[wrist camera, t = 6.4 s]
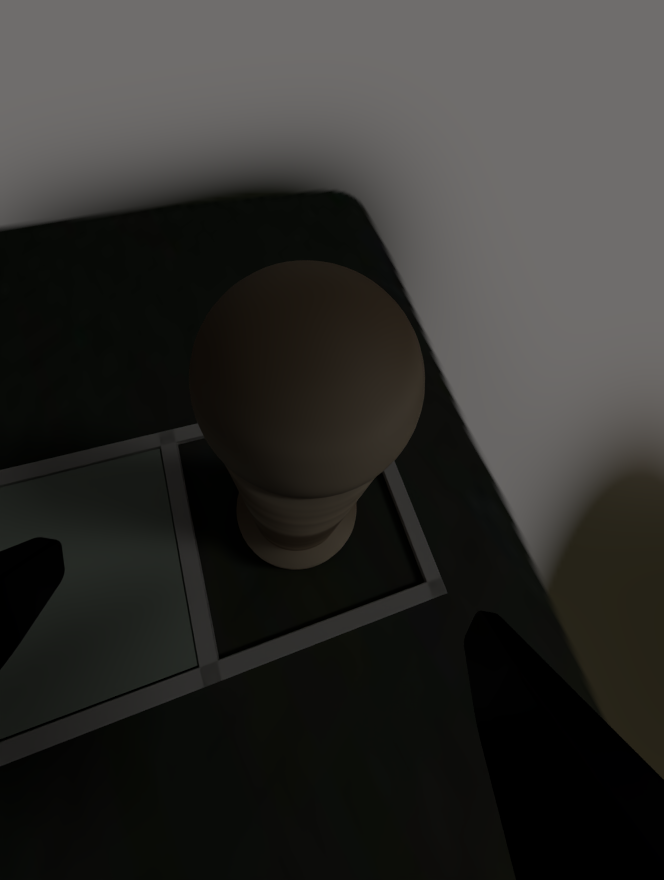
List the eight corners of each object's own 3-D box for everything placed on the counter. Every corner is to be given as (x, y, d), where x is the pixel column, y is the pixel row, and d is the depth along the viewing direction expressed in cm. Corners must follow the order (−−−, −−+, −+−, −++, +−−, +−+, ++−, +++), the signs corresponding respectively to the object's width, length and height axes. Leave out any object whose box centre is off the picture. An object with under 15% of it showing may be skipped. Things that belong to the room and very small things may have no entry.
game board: (444, 592, 19) (447, 592, 19) (-99, 802, 14) (-110, 808, 14) (362, 387, 23) (363, 384, 23) (-81, 492, 18) (-88, 490, 18)
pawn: (367, 548, 19) (589, 435, 5) (255, 586, 18) (126, 581, 4) (332, 447, 21) (419, 156, 7) (229, 474, 20) (77, 190, 6)
